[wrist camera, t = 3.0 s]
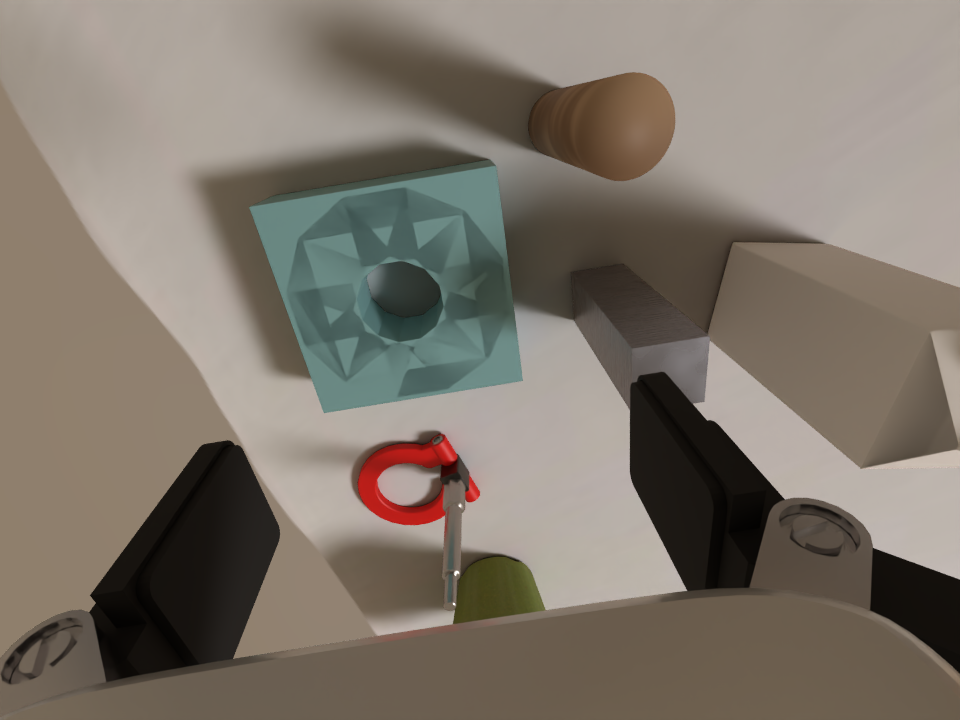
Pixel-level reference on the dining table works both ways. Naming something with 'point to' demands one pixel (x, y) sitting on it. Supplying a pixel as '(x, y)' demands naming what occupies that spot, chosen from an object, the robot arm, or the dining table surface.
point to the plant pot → (496, 591)
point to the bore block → (385, 239)
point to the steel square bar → (638, 331)
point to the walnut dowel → (606, 125)
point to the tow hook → (446, 504)
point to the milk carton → (848, 348)
